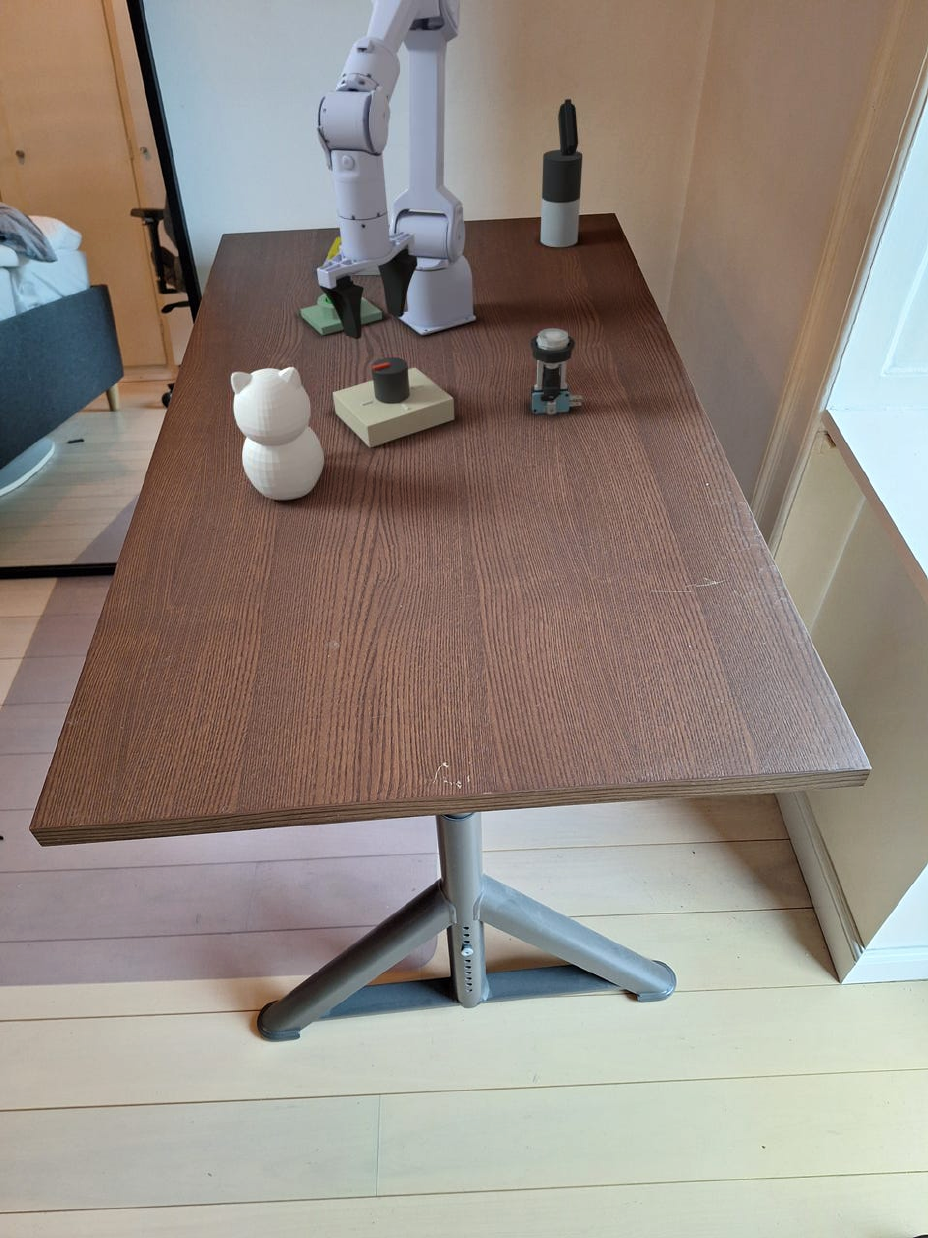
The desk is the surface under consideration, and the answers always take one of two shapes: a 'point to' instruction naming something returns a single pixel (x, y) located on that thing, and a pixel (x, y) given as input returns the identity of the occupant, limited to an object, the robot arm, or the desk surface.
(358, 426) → the dimmer panel
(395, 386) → the dimmer knob
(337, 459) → the desk surface
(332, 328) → the switch block
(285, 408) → the cat figurine
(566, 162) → the track light
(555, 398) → the push button
